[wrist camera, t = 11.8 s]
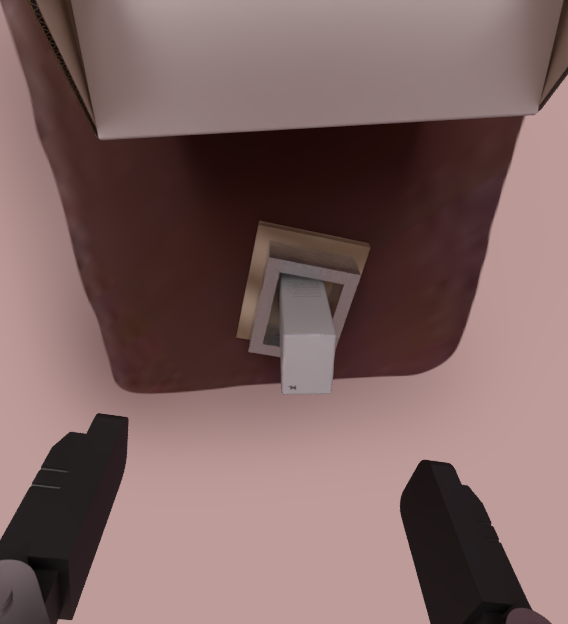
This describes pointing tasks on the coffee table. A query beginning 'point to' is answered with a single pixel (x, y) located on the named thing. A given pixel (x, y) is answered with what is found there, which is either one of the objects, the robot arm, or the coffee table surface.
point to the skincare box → (305, 336)
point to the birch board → (286, 236)
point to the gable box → (302, 61)
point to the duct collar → (306, 265)
